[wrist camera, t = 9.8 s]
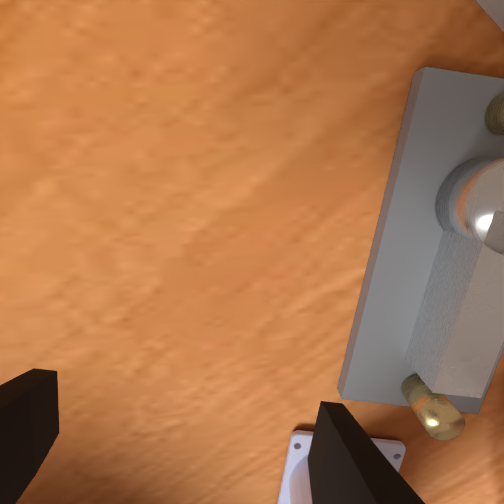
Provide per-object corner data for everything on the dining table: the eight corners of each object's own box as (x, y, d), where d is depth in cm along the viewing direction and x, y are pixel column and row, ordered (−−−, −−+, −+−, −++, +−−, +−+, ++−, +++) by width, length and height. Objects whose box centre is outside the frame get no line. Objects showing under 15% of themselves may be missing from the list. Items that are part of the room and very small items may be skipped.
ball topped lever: (459, 364, 19) (497, 400, 16) (390, 356, 19) (415, 390, 16) (532, 163, 16) (595, 162, 13) (449, 151, 16) (494, 147, 13)
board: (467, 402, 21) (477, 414, 20) (337, 388, 20) (341, 398, 20) (583, 98, 16) (604, 94, 15) (414, 72, 16) (424, 66, 15)
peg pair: (427, 401, 20) (458, 442, 17) (397, 398, 19) (422, 438, 17) (531, 94, 15) (599, 77, 12) (492, 88, 15) (550, 69, 12)
